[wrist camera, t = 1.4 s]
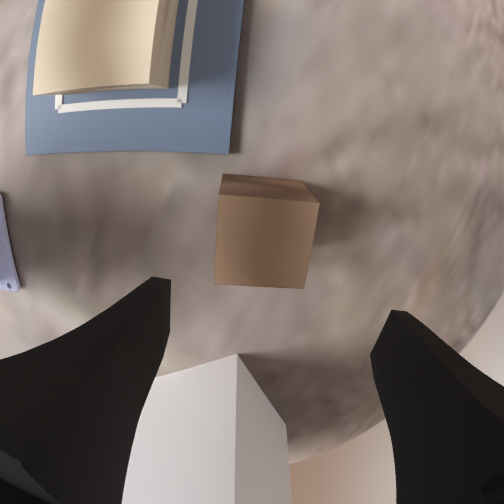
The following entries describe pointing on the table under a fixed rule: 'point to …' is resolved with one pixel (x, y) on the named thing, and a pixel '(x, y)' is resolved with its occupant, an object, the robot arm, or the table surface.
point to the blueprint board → (150, 95)
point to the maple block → (104, 46)
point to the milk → (208, 441)
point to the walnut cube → (264, 232)
